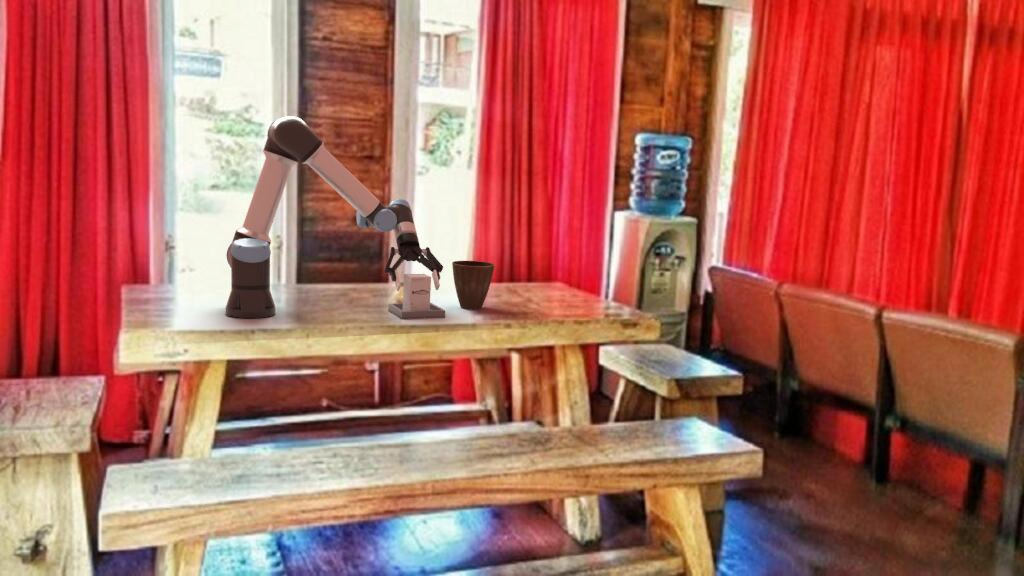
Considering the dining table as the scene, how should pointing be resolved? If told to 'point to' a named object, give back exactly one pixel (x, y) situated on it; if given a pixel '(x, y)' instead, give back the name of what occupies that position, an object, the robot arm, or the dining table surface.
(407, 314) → the tray
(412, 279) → the supplement box
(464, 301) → the plant pot
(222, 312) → the dining table surface
